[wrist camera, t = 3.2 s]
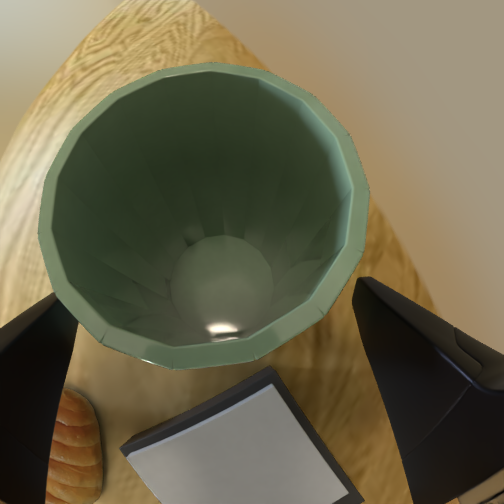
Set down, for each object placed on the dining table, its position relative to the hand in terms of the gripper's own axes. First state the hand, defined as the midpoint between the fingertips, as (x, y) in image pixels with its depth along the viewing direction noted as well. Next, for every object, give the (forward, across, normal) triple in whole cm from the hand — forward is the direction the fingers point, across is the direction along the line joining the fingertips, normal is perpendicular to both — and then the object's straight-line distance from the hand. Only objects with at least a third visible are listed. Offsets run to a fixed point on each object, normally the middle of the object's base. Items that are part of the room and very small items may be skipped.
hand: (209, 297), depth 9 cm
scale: (-1, -1, +14) cm, 14 cm away
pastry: (0, +12, +14) cm, 18 cm away
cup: (+8, 0, +5) cm, 9 cm away
